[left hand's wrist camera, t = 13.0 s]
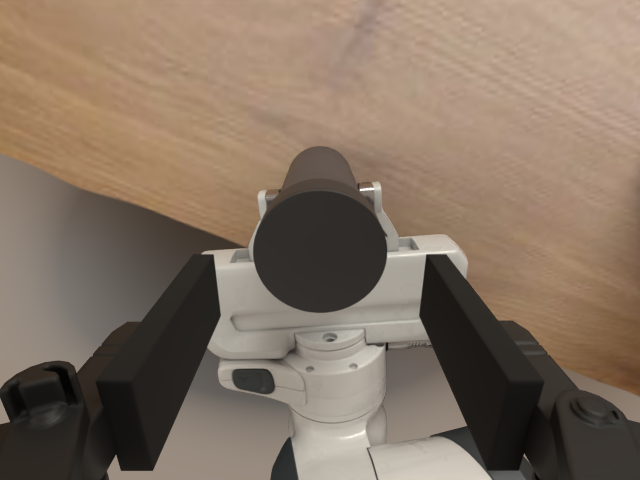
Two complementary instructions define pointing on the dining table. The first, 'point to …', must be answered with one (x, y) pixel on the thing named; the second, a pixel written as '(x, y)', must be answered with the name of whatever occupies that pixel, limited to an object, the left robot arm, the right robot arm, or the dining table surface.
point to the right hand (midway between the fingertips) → (318, 187)
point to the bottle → (319, 167)
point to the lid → (320, 246)
